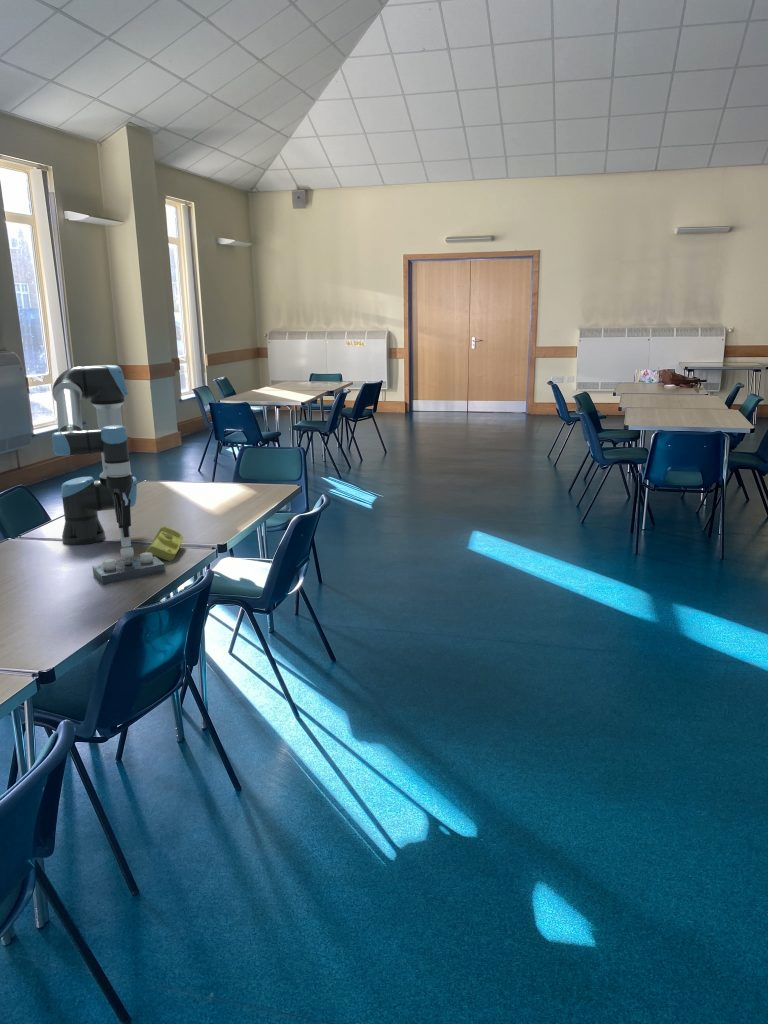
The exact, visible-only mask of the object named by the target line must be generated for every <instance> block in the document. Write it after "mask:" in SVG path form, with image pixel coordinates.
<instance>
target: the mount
mask: <svg viewBox="0 0 768 1024" xmlns="http://www.w3.org/2000/svg"><path fill="white" fill-rule="evenodd" d="M130 563H131V564H130V565H126V559H124V560H118V561H116V569H114V570H110V571H105V570H103V564H102V563H101V564H96V565H92V574H93V576H94V577H95V578H96V580H98V581H99V582H100V584H101V585H102V586H106V585H111V584H115V583H120V582H121V583H122V582H127V581H130V580H136V579H141V578H145V577H150V576H156V575H159V574H164V573H166V568H165V567H166V566H165V563H164V562H163V561H161V560H160V558H159V557H157V556H154V555H153V562H151V563H141V562H140V556H138V557H132V558H130Z"/></svg>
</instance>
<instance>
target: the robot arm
mask: <svg viewBox="0 0 768 1024" xmlns="http://www.w3.org/2000/svg"><path fill="white" fill-rule="evenodd" d="M51 391H52V398H53V400H54V401H55V402H56V412H57V413H56V414H57V415H56V416H57V430H58V431H57V432H53V433H52V434H51V442H52V449H53V453H54V456H57V457H58V456H59V457H61V456H62V457H63V456H67V457H69V456H76V455H77V456H79V455H87V454H90V455H91V454H101V455H100V456H101V463H102V472H101V473H100V474H99V479H98V480H97V479H96V480H95V479H94V477H93V476H89V475H88V476H80V477H75V478H72V479H70V480H67V481H65V482H63V483H62V484H61V489H60V492H61V495H60V497H61V498H62V506H63V515H64V526H63V530H62V535H61V537H62V539H61V540H62V543H63V544H65V545H69V546H78V545H79V546H81V545H88V544H89V545H90V544H94V543H96V542H97V543H98V542H100V541H102V540H104V539H105V538H106V531H105V530H104V527H103V525H102V523H101V521H100V519H99V514H98V512H102V511H111V510H114V512H115V518H116V522H117V524H118V528H119V535H120V544H121V545H120V547H121V548H125V547H131V546H132V542H131V541H132V540H131V532H130V527H131V526H132V522H131V521H132V520H131V519H132V518H131V517H132V515H131V508H133V507H134V506H135V505H136V503H137V497H138V495H137V491H138V489H137V487H138V486H137V485H138V483H137V482H138V481H137V477H136V476H133V475H132V474H133V473H132V469H131V460H130V455H129V443H128V433H127V427H126V426H124V425H123V419H122V405H124V403H125V398H128V397H129V395H128V389H127V383H126V381H125V376H124V373H123V370H122V368H121V367H120V366H119V365H115V364H113V365H112V364H104V365H102V364H101V365H86V366H85V365H84V366H82V365H81V366H80V365H78V366H73V367H71V368H68V369H66V370H65V371H63V372H62V373H60V374H59V376H58V377H56V379H55V381H54V383H53V386H52V390H51ZM81 400H90V404H91V405H92V406H93V407H94V408H95V410H96V421H97V427H98V429H90V430H89V429H88V430H84V426H83V417H82V409H81Z"/></svg>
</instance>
